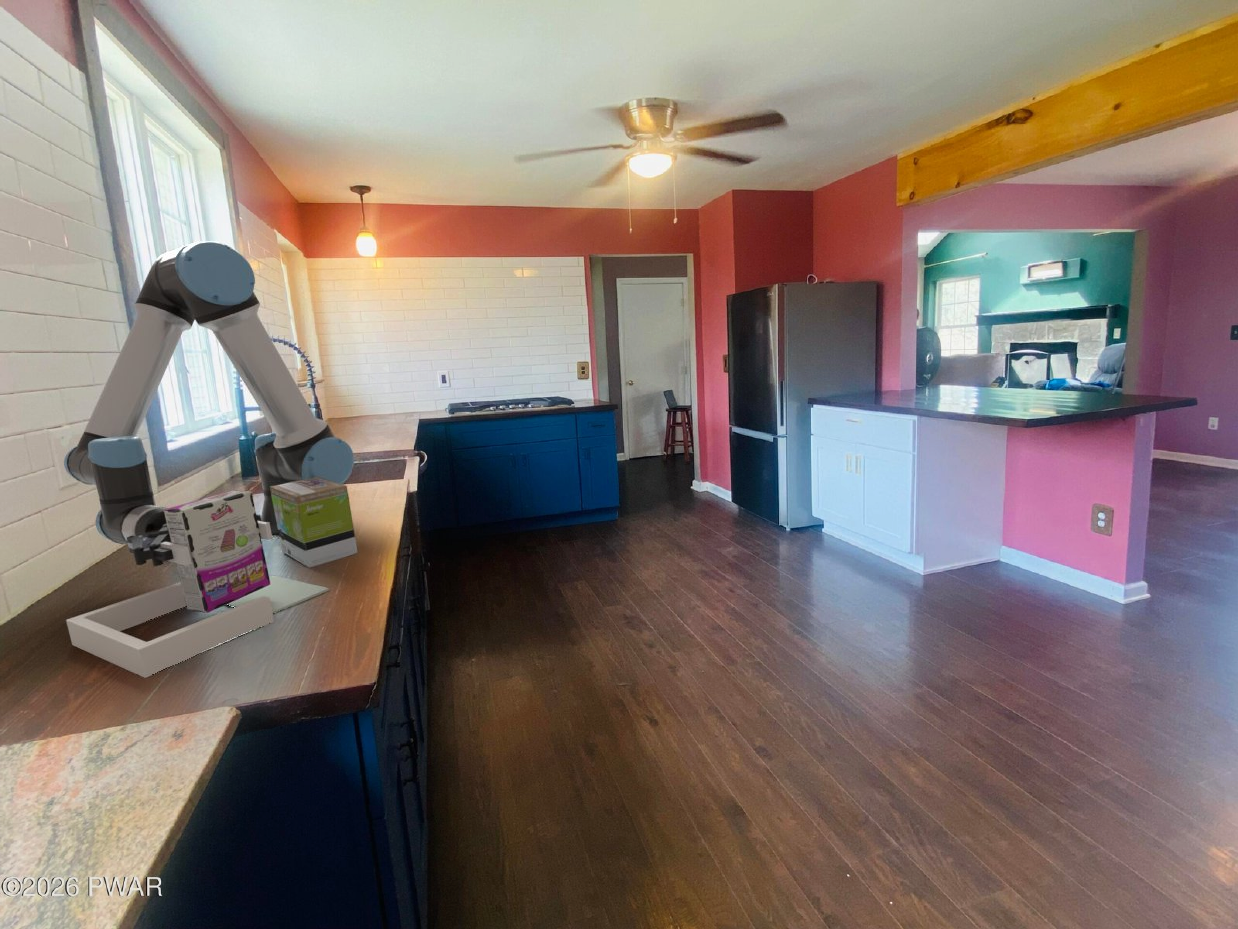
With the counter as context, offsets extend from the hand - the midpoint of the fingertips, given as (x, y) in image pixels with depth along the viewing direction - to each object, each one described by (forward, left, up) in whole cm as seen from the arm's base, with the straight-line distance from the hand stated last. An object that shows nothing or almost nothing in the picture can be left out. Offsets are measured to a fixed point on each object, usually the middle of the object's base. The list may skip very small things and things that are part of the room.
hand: (230, 543), depth 92 cm
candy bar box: (0, -3, -10) cm, 10 cm away
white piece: (+8, -4, -12) cm, 15 cm away
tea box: (-24, -16, -12) cm, 31 cm away
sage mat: (-6, -4, -12) cm, 14 cm away
